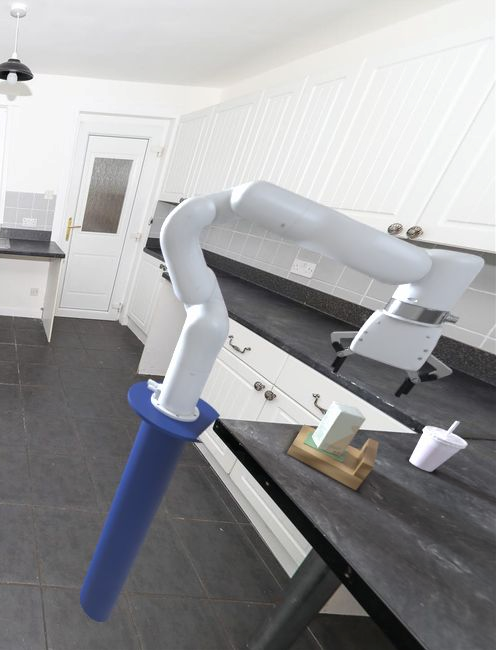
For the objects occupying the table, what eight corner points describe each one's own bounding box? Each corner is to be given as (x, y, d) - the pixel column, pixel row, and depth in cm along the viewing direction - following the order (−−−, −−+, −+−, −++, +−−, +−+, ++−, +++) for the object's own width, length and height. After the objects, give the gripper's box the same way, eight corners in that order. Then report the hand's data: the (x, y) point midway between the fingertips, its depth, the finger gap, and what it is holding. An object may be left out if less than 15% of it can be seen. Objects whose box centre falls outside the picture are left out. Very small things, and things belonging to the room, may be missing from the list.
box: (340, 457, 77) (367, 419, 72) (316, 448, 78) (341, 411, 74) (333, 443, 81) (358, 407, 76) (310, 435, 83) (333, 399, 78)
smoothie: (399, 461, 82) (435, 416, 76) (402, 451, 85) (436, 408, 80) (440, 480, 77) (481, 434, 72) (441, 469, 81) (481, 424, 75)
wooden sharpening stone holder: (286, 453, 81) (300, 431, 78) (299, 432, 88) (311, 412, 85) (355, 490, 72) (373, 467, 69) (362, 464, 80) (378, 442, 77)
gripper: (483, 326, 62) (424, 399, 69) (355, 294, 74) (316, 359, 81) (488, 335, 57) (424, 412, 64) (351, 299, 70) (310, 367, 76)
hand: (364, 382), depth 73 cm, fingers open, 9 cm apart
